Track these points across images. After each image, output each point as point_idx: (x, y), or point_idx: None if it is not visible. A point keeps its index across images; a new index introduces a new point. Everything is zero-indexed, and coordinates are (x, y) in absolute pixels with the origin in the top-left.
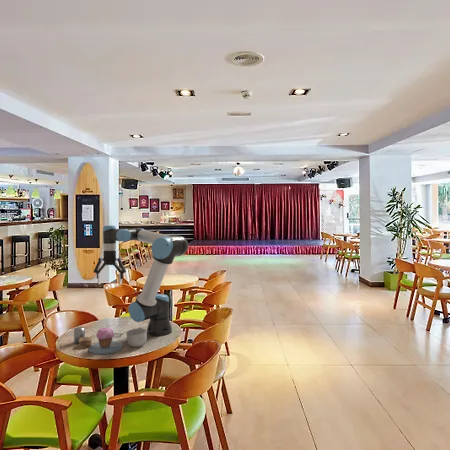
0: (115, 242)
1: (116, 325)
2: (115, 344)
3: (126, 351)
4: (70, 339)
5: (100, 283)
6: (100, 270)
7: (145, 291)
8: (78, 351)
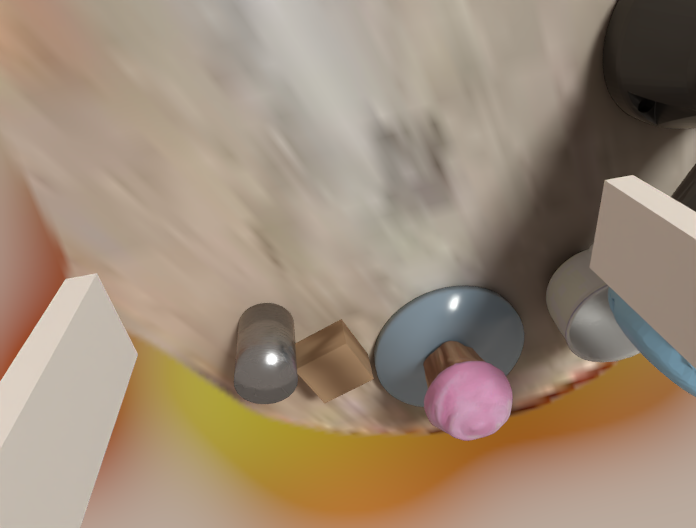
0: None
1: None
2: (486, 325)
3: (550, 345)
4: (179, 306)
5: (111, 306)
6: None
7: None
8: (344, 400)
